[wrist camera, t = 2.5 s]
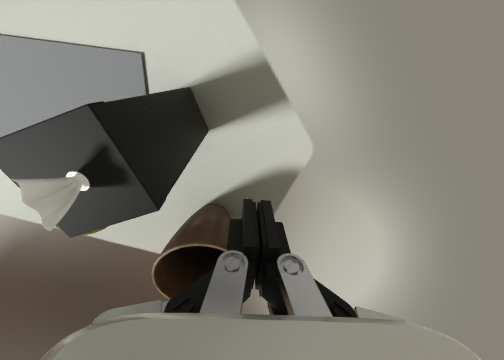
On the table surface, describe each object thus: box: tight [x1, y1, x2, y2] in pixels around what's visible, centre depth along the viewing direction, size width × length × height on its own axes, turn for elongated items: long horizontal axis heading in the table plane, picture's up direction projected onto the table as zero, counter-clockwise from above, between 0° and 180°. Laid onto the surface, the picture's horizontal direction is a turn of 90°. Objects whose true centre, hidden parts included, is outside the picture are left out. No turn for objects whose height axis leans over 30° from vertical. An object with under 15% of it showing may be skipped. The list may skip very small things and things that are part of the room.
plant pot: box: [152, 204, 231, 299], centre depth 39 cm, size 15×15×16 cm
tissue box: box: [0, 87, 208, 237], centre depth 23 cm, size 8×8×28 cm
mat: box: [0, 35, 147, 137], centre depth 34 cm, size 20×29×1 cm
